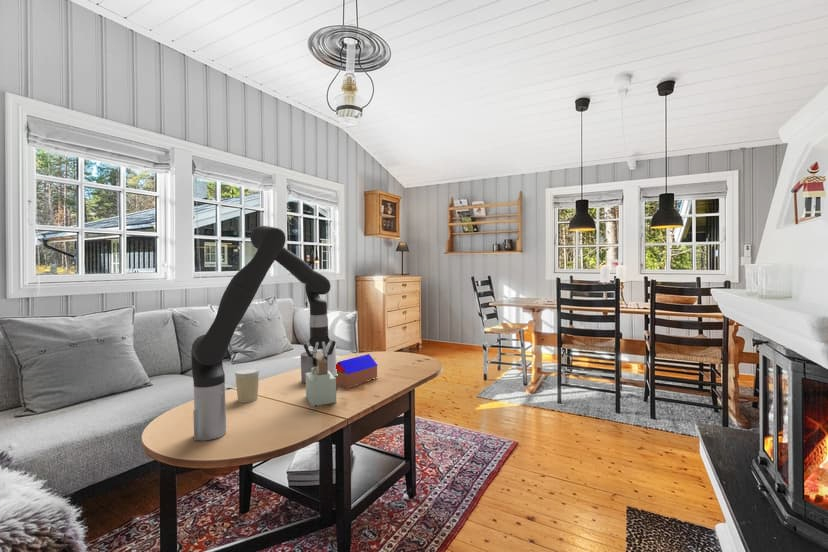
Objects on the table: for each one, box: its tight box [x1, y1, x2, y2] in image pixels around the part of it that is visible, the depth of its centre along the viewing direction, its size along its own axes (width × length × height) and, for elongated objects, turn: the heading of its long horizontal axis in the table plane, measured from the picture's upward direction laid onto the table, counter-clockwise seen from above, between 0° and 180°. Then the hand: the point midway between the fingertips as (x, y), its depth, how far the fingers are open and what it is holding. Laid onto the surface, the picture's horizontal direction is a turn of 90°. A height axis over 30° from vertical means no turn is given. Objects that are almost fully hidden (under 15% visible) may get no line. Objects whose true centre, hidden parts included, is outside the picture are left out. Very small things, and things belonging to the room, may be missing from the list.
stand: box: [305, 367, 337, 407], centre depth 165 cm, size 10×14×12 cm
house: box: [335, 353, 379, 388], centre depth 192 cm, size 12×20×12 cm, turn 141°
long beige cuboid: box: [315, 351, 329, 375], centre depth 165 cm, size 4×14×5 cm, turn 24°
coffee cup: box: [234, 368, 260, 403], centre depth 167 cm, size 9×9×12 cm
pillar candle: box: [299, 350, 320, 384], centre depth 193 cm, size 10×10×15 cm
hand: (320, 365), depth 166 cm, fingers closed on long beige cuboid, 3 cm apart
